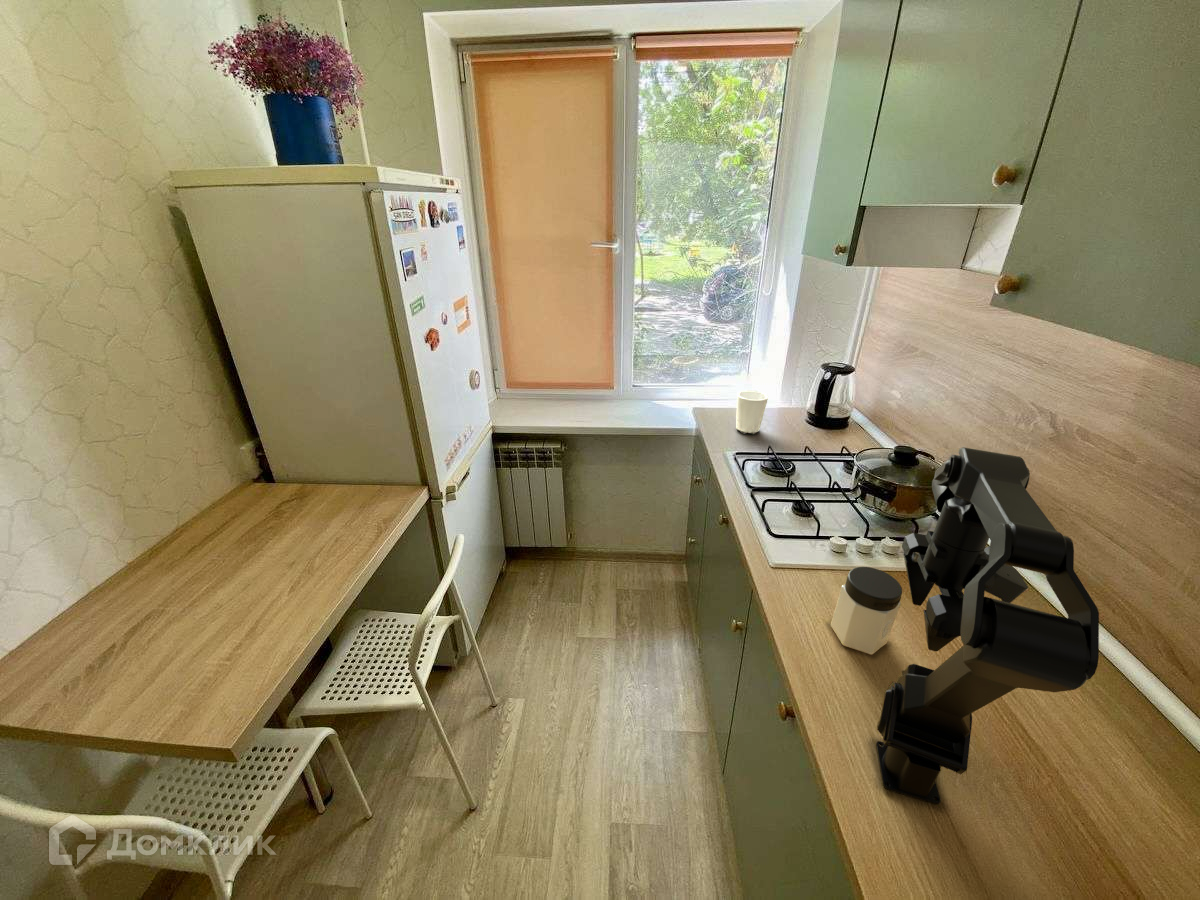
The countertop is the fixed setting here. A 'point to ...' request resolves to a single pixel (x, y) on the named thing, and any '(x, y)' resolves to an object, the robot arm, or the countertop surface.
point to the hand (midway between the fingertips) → (924, 625)
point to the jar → (866, 609)
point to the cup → (750, 411)
